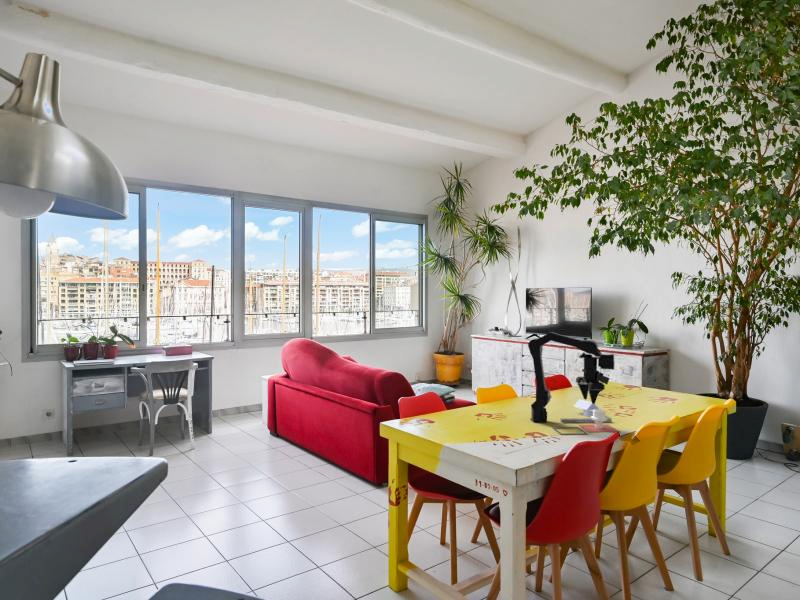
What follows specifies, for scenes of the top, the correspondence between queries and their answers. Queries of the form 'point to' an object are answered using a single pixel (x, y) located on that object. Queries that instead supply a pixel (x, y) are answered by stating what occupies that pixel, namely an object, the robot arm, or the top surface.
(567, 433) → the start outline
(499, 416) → the top surface
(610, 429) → the pad
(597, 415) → the pipe fitting
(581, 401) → the wedge on round base
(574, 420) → the rail
